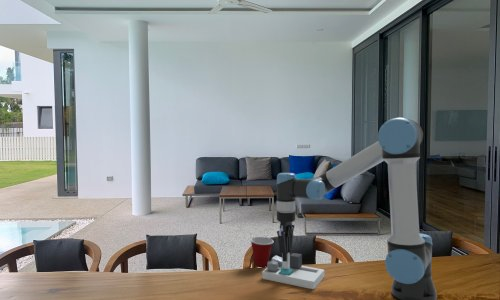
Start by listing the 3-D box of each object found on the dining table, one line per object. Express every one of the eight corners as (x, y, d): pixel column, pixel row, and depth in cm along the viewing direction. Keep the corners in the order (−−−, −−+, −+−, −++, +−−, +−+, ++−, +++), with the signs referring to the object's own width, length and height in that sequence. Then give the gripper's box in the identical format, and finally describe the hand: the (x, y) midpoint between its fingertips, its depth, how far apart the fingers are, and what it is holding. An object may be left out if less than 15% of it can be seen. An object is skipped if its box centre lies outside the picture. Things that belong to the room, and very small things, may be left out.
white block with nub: (287, 263, 155) (288, 260, 154) (283, 266, 151) (284, 263, 151) (275, 258, 157) (275, 255, 157) (271, 261, 154) (271, 258, 154)
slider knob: (301, 265, 151) (301, 254, 151) (298, 268, 148) (298, 257, 148) (293, 264, 153) (293, 252, 153) (289, 267, 150) (289, 255, 150)
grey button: (279, 269, 149) (279, 262, 149) (275, 272, 145) (275, 265, 145) (270, 267, 151) (270, 260, 151) (265, 270, 147) (265, 263, 147)
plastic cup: (273, 270, 156) (273, 243, 155) (249, 269, 157) (249, 242, 156) (274, 261, 167) (274, 236, 166) (251, 260, 168) (251, 235, 167)
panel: (324, 276, 148) (324, 267, 148) (313, 289, 136) (313, 279, 136) (276, 267, 159) (276, 258, 159) (262, 278, 147) (262, 269, 146)
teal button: (292, 275, 146) (292, 268, 146) (288, 279, 142) (288, 271, 142) (283, 273, 148) (283, 266, 148) (278, 276, 144) (278, 269, 144)
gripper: (283, 207, 152) (283, 261, 153) (270, 213, 140) (270, 271, 141) (300, 208, 148) (300, 264, 149) (288, 214, 137) (288, 275, 138)
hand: (286, 268), depth 145 cm, fingers closed
